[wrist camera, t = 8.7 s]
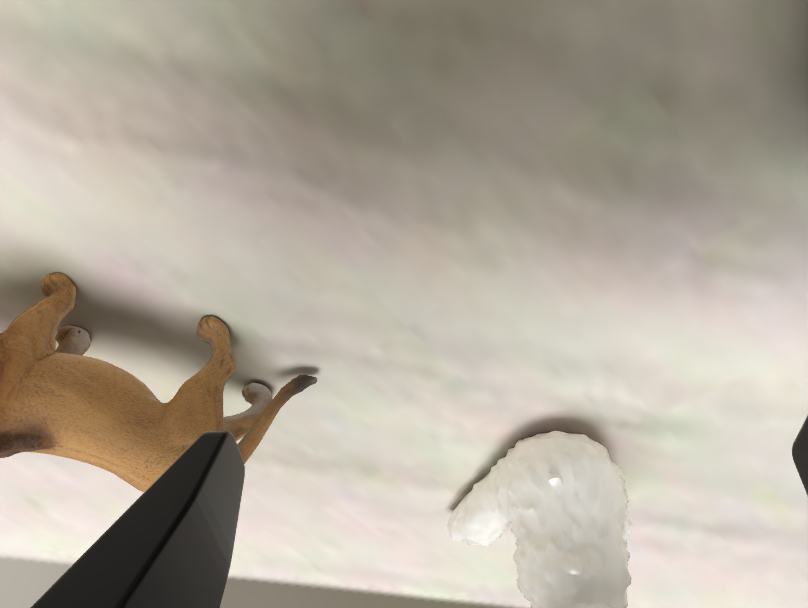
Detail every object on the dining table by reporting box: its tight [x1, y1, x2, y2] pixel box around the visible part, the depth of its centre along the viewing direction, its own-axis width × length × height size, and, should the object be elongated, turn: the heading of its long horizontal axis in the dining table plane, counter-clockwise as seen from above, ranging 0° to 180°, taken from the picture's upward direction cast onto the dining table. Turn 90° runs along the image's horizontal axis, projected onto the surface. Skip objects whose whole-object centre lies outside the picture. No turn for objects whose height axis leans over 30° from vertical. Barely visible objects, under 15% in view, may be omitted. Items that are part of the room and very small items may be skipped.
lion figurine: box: [0, 272, 317, 492], centre depth 20 cm, size 15×5×9 cm, turn 76°
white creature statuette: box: [448, 431, 632, 608], centre depth 23 cm, size 10×9×12 cm
